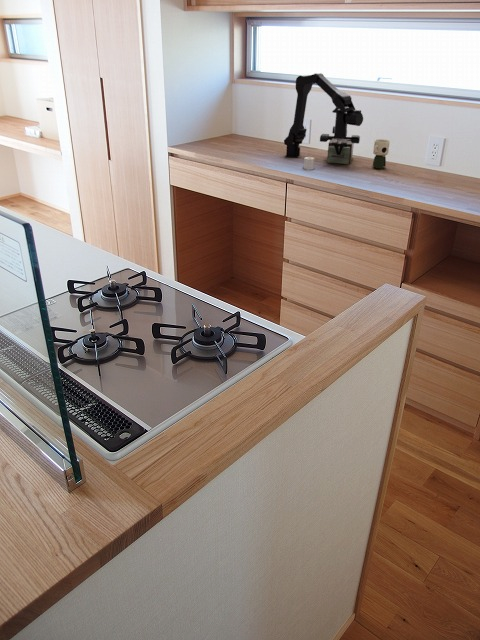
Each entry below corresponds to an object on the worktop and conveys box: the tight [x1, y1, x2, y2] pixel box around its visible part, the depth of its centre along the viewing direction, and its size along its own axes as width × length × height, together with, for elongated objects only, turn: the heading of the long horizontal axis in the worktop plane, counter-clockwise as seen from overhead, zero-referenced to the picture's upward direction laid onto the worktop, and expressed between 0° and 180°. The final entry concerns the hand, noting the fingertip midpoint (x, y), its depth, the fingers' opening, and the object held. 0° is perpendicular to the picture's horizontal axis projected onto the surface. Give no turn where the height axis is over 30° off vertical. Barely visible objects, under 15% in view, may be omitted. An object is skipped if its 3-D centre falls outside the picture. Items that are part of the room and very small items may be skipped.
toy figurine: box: [372, 138, 391, 170], centre depth 262 cm, size 11×7×13 cm, turn 132°
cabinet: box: [326, 140, 355, 165], centre depth 277 cm, size 14×12×10 cm
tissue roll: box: [303, 156, 315, 171], centre depth 262 cm, size 5×5×5 cm
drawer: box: [326, 145, 350, 165], centre depth 271 cm, size 17×10×8 cm, turn 166°
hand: (338, 156), depth 266 cm, fingers closed, pressing on drawer
